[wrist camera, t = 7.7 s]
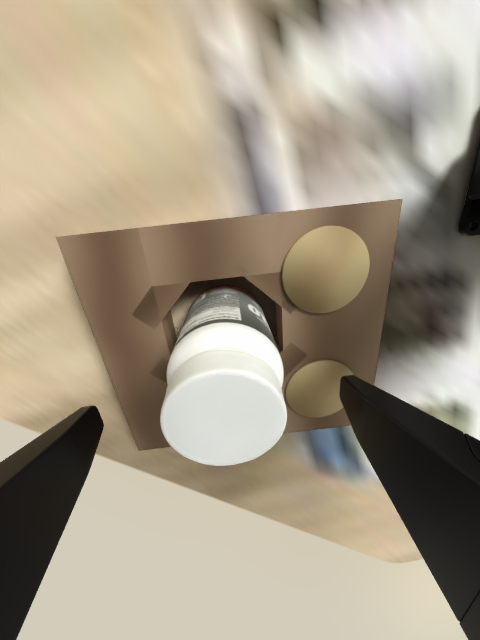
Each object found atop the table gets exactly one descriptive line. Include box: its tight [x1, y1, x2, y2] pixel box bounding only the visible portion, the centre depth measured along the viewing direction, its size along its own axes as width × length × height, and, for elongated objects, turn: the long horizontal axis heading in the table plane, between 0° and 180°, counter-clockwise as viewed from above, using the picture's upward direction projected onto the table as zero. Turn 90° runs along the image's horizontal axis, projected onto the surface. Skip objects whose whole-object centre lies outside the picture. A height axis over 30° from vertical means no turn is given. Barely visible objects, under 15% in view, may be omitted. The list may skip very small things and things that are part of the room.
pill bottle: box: [160, 286, 287, 466], centre depth 11 cm, size 5×5×8 cm
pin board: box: [56, 199, 402, 450], centre depth 14 cm, size 16×14×2 cm
